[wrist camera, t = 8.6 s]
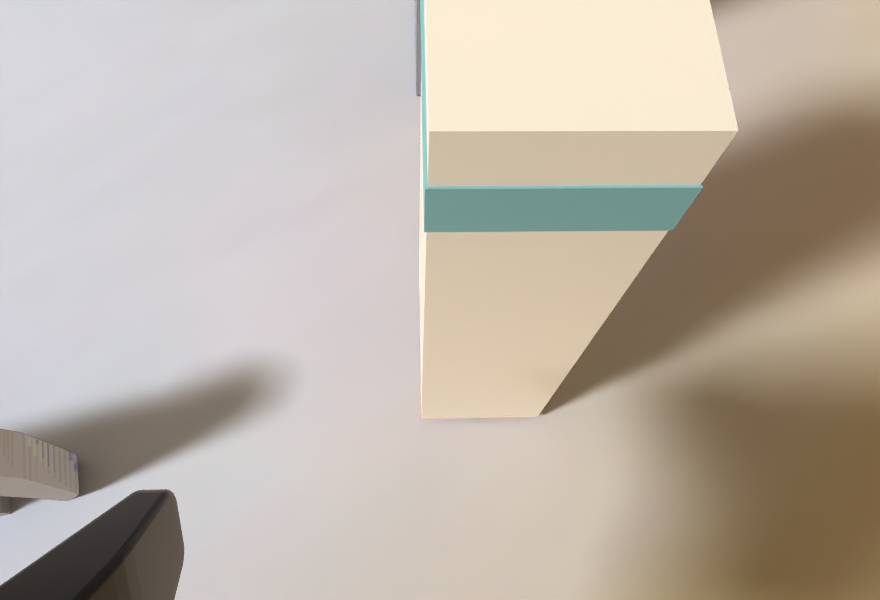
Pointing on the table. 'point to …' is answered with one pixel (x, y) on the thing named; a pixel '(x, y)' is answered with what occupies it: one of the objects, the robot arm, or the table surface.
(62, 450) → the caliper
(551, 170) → the cream long block
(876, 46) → the table surface
